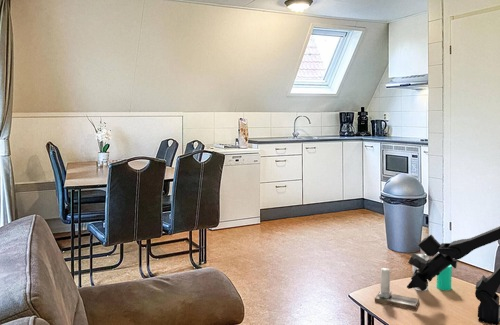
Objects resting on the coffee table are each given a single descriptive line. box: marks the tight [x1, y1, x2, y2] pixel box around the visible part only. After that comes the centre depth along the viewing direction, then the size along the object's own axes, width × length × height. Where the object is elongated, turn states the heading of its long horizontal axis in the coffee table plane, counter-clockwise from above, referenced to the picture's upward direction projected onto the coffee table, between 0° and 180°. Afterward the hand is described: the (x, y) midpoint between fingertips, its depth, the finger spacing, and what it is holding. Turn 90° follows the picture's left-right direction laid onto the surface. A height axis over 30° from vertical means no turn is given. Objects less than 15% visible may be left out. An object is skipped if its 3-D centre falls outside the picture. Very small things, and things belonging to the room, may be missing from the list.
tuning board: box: [374, 291, 420, 310], centre depth 176 cm, size 16×8×2 cm, turn 58°
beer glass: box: [411, 253, 430, 292], centre depth 188 cm, size 7×7×15 cm
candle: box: [436, 265, 453, 291], centre depth 189 cm, size 6×6×12 cm
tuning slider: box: [378, 267, 392, 299], centre depth 177 cm, size 4×6×11 cm, turn 148°
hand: (407, 287), depth 173 cm, fingers closed
